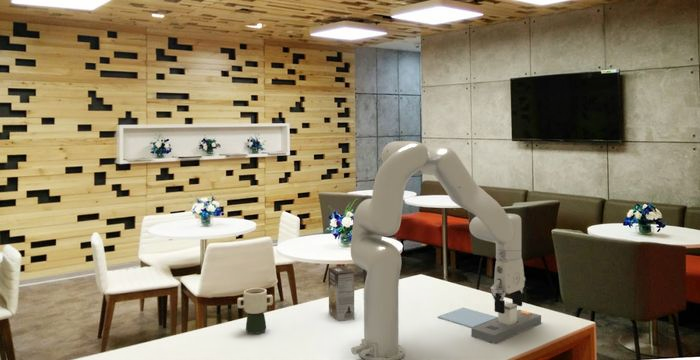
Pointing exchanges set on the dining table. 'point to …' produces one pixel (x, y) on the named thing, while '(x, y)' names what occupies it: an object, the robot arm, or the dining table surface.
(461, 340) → the dining table surface
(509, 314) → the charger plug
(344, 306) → the coffee box
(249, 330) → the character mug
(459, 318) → the slate mat
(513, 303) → the robot arm
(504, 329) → the power strip
